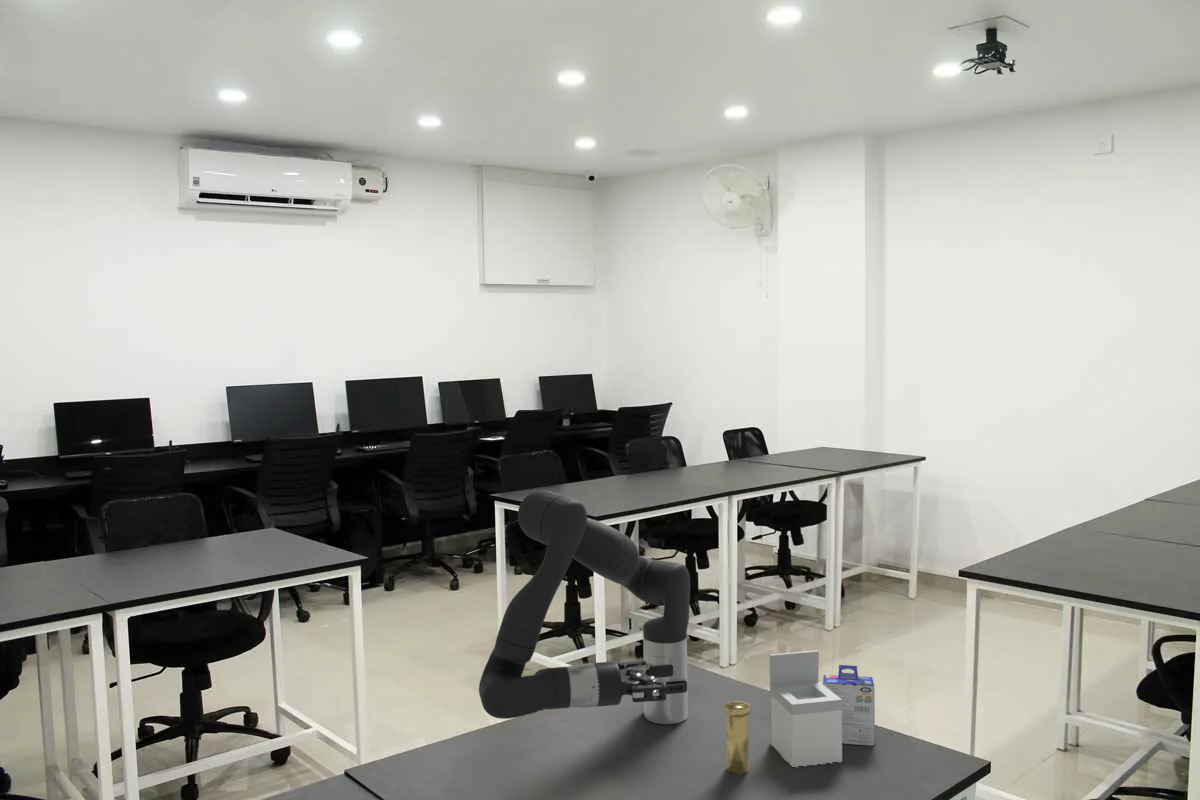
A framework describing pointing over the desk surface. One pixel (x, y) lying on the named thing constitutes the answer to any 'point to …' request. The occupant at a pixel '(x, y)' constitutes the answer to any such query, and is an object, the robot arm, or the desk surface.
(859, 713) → the ink cartridge box
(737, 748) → the hinge pin
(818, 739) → the hinge block
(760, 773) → the desk surface
